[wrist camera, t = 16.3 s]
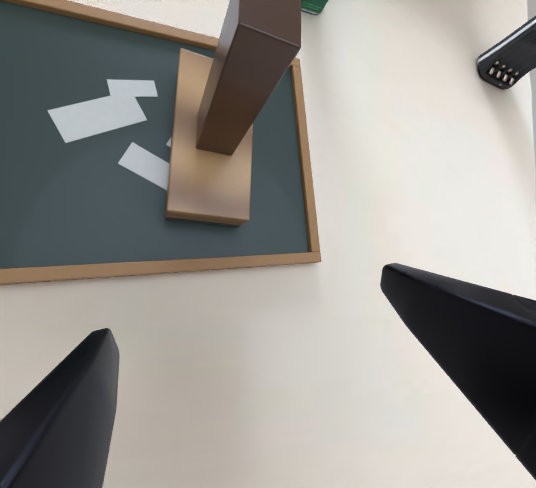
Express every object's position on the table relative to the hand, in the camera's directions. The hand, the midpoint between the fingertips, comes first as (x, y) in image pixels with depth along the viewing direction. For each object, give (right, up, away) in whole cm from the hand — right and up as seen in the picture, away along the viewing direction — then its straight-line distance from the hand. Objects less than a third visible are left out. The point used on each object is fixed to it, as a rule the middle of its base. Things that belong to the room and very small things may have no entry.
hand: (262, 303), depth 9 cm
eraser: (-4, +9, +12) cm, 15 cm away
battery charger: (+31, +25, +30) cm, 49 cm away
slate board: (-10, +9, +10) cm, 17 cm away
